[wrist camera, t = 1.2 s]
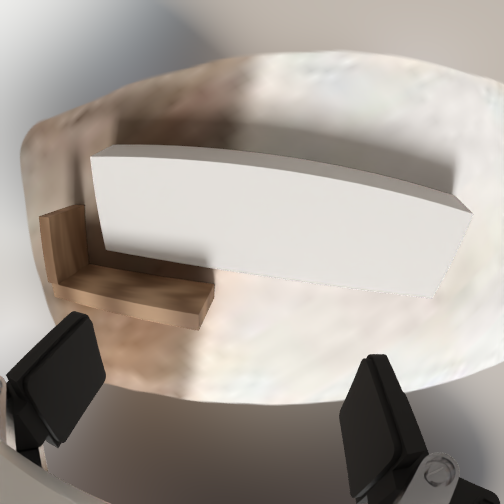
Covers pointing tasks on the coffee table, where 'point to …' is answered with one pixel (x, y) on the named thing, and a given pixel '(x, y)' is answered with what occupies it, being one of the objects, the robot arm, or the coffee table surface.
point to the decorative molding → (277, 217)
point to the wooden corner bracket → (115, 278)
